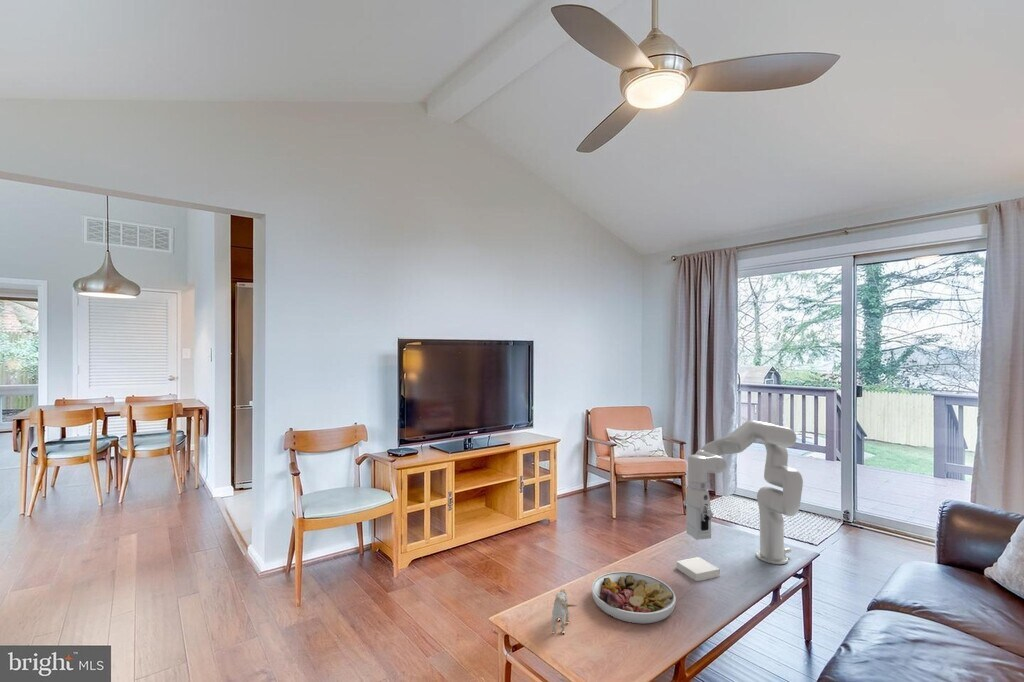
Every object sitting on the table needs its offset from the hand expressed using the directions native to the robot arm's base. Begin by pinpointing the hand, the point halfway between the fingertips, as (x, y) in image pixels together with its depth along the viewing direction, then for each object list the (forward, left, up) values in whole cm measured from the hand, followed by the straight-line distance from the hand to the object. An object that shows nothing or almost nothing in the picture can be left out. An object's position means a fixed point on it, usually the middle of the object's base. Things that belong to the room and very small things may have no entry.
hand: (697, 526), depth 196 cm
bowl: (+40, +11, -20) cm, 46 cm away
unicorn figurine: (+70, +18, -20) cm, 75 cm away
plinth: (0, 0, -19) cm, 19 cm away
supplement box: (-1, 0, -4) cm, 4 cm away
